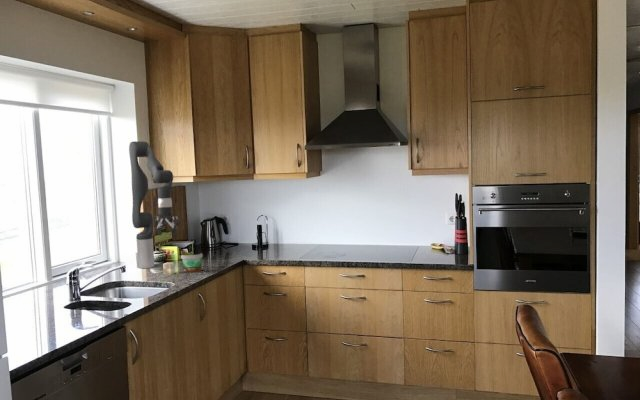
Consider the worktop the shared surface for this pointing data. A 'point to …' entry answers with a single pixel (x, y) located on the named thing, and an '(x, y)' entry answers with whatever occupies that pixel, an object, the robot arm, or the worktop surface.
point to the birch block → (168, 268)
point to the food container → (192, 263)
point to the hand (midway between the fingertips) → (166, 234)
